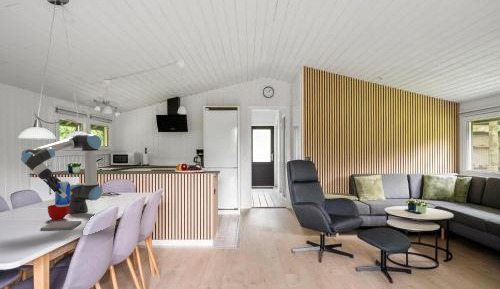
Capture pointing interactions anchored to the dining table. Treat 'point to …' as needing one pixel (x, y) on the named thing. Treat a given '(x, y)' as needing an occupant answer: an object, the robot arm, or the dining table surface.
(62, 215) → the ceramic cup
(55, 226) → the slate tile
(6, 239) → the dining table surface
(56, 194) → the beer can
